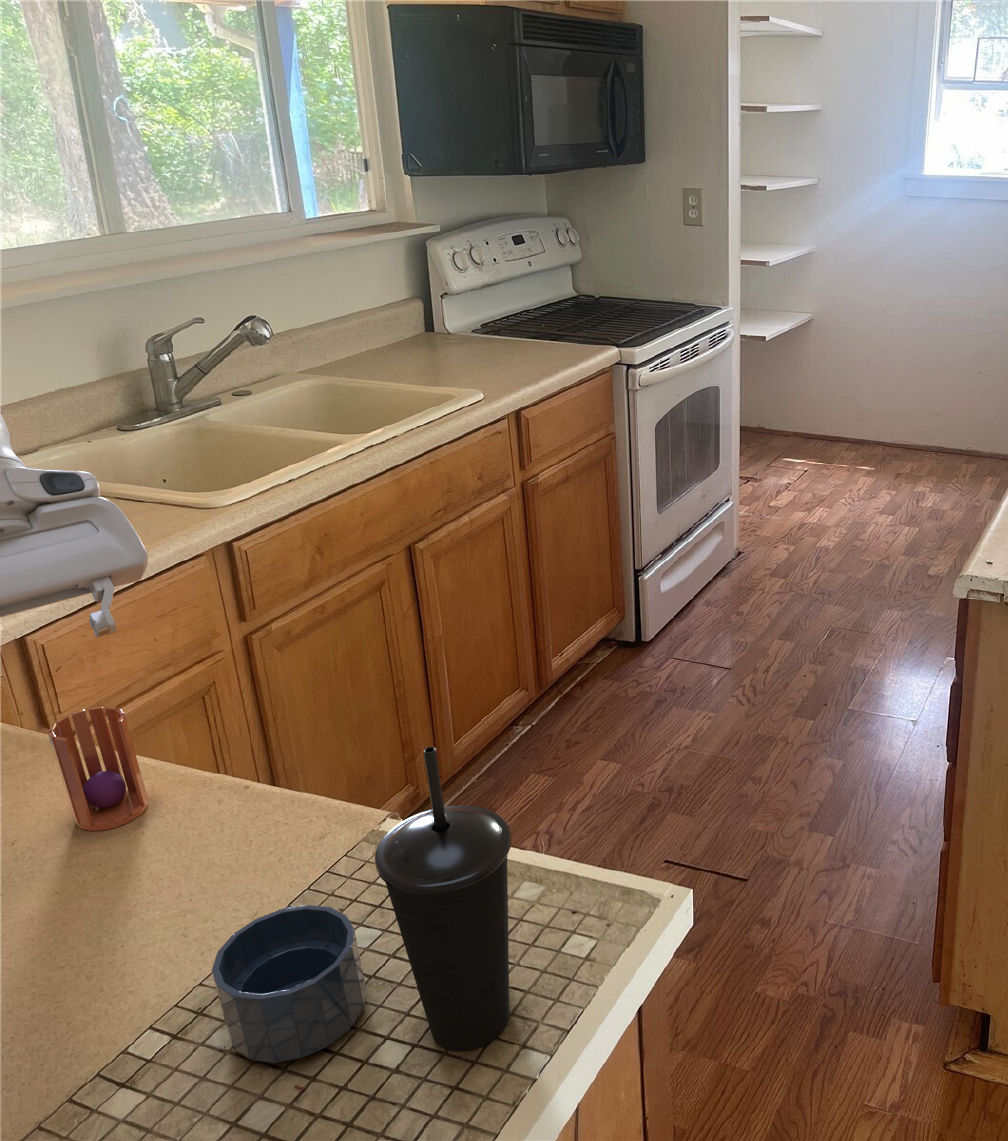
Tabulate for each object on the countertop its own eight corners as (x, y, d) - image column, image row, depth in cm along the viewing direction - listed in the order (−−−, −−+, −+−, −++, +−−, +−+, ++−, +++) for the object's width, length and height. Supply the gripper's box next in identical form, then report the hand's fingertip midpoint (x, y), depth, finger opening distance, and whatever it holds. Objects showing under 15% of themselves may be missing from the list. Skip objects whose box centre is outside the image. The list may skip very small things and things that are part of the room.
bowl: (218, 1080, 63) (199, 1009, 61) (244, 983, 70) (227, 917, 68) (360, 1053, 65) (346, 983, 63) (371, 961, 72) (359, 896, 70)
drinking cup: (401, 1081, 63) (347, 797, 55) (412, 987, 70) (366, 723, 62) (533, 1059, 65) (498, 779, 57) (531, 968, 71) (500, 708, 64)
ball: (84, 817, 86) (71, 782, 86) (99, 808, 89) (87, 774, 89) (122, 805, 87) (110, 770, 87) (136, 796, 90) (124, 762, 90)
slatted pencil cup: (68, 812, 88) (40, 723, 85) (136, 786, 92) (112, 699, 88) (87, 839, 85) (59, 747, 82) (157, 811, 88) (132, 722, 85)
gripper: (-177, 526, 83) (-113, 679, 80) (112, 468, 96) (175, 598, 94) (-166, 564, 88) (-105, 710, 85) (109, 504, 101) (168, 628, 98)
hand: (44, 650), depth 90 cm, fingers open, 8 cm apart
